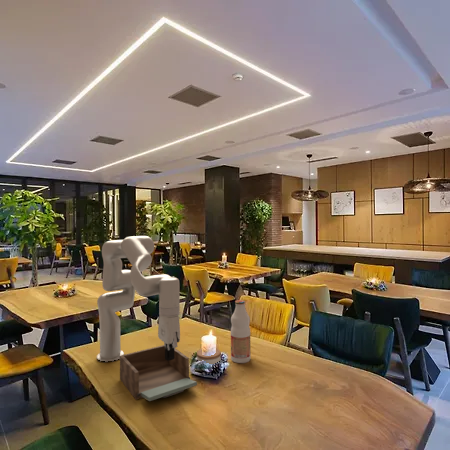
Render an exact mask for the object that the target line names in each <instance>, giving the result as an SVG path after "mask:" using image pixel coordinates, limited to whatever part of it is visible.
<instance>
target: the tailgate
mask: <svg viewBox="0 0 450 450" xmlns="http://www.w3.org/2000/svg"><path fill="white" fill-rule="evenodd" d="M197 385H198V382H197V381H196V380H192V378H190V379H188V378H185V379H181V380H178V381H175V382H172V383H169V384H166V385H163V386H159V387H156V388H153V389H150V390H147V391H144V392H141V396H142V397H143V399H145V400H146V401H148V402H151V401H154V400H157V399H160V398H163V399H165V398H168V397H171V396H173V395H177V394H179V393H183V392H184V390H186V389H190V388H193V387H196V386H197Z"/></svg>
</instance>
